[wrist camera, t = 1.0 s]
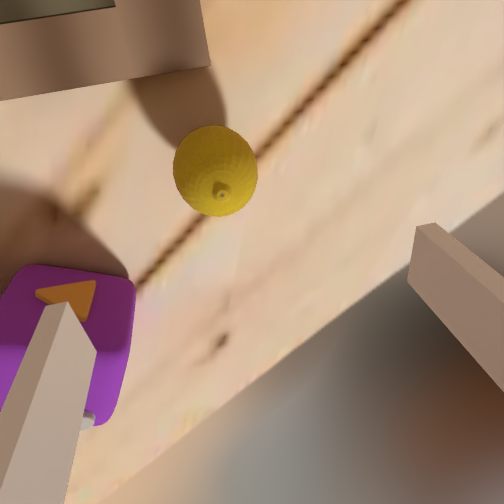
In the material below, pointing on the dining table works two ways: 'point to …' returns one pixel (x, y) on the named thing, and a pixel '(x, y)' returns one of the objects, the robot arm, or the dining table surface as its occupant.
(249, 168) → the lemon
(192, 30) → the pocket board
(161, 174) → the dining table surface
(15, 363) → the toy camera
